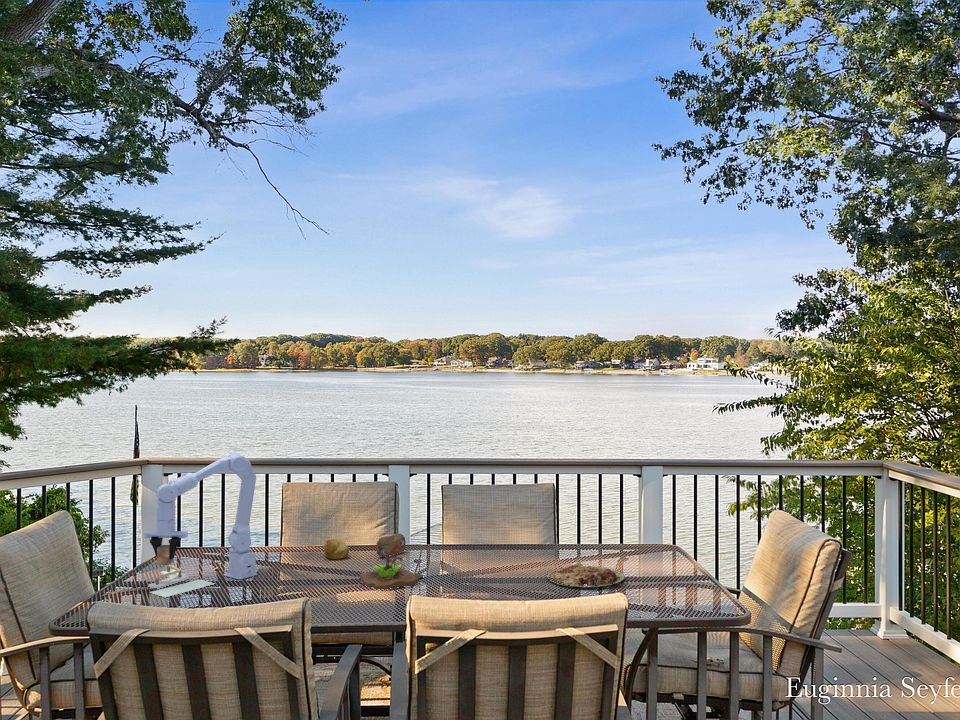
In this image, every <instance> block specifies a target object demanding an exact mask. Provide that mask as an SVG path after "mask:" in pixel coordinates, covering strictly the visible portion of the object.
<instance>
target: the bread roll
mask: <svg viewBox="0 0 960 720" xmlns="http://www.w3.org/2000/svg"><path fill="white" fill-rule="evenodd" d="M323 546H324V550H323V551H324V556H325V557H326V559H329V560H331V559H337V560H342V559H341V558H343V559H345V558H346V557H348V554H349V551H350V550H349V547H348V545H347V543H346V542H344V541H343V540H341V539H338V538H334V539H328V540H326V541H325V542H324V544H323Z"/></svg>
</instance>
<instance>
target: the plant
mask: <svg viewBox="0 0 960 720" xmlns="http://www.w3.org/2000/svg"><path fill="white" fill-rule="evenodd" d="M383 554H384V555H386V558H385V559H386V561H385V563H384V565H383V564H381V563H380V564H379V566H377V565H373V567H374V568H375V570H372V571H366V572H362V573H360V575H359V580H360V579H361V581H362V582H363V584H362V586H363V585H366V586H367V587H374V588H375V589H390V588H397V587H404V586H411V585H415V584H416V583H418V582H419V580H420V578H419V577H417V574H415V573H412V572H411V571H408V570H407V569H403V568H401V567H402V564H397V565H396V566H394V565H395V564H394V563H395V561H397V560H399V562H401V563H403V562H404V558H403V557H401V556H398V557H395V558H393V560H392V558H390V557H389V556H388V552H387V551H386V550H384V551H383ZM361 581H360V582H361ZM418 584H419V583H418ZM416 585H417V584H416ZM416 585H415V586H416Z"/></svg>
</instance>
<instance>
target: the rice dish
mask: <svg viewBox="0 0 960 720" xmlns="http://www.w3.org/2000/svg"><path fill="white" fill-rule="evenodd" d="M558 570H560V571H558ZM555 571H557V572H555ZM553 572H554V573H553ZM551 573H552V574H551ZM550 574H551V577H552V578H553V579H557V580H558V581H561V582H563V583H564V584H565V585H563V584H559V583H556V582H554V581H552V580H549V582H552V583H554V584H557V585H560V586H565V587H566V586H567V587H577V588H583V589H593V588H600V587H607V586H611V585H614V584H618V583H621V582H622V581H623V580H624V579H625V577H626V576H625V574H624V573H623V571H619V570H615V569H613V568H609V567H604V566H602V567H601V566H593V565H587V566H586V565H585V566H584V565H583V564H582V563H581V562H577V563H575V564H574V565H573V564H571V565H570V566H569V565H568V567H561V568H557V569H553V570H551V571H549V572H548V573H547V574H546V578H548V579H549V575H550ZM548 579H547V580H548ZM614 581H616V582H614ZM612 583H613V584H612ZM584 584H587V585H589V586H591V587H587V586H586V587H584V586H583V585H584ZM568 585H570V586H568Z"/></svg>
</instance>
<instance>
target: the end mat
mask: <svg viewBox="0 0 960 720" xmlns="http://www.w3.org/2000/svg"><path fill="white" fill-rule="evenodd" d="M214 584H216V583H215V582H211V581H206V580H203V579H196V580H192V581H188V582H184V583H181V584H175V585H171V586H168V587H165V588H162V589H155V590H153V591H149V593H152V594H151V595H153V594H155V595H154V596H156V595H158V596H157V597H159V596H162V597H161V598H163V597H164V598H163V599H167V598H166V597H168V598H171V597H170V596H172V597H175V596H179V595H183V594H186V593H185V592H187V593H190V592H193V591H192V590H194V591H197V590H196V589H198V590H201V589H200V588H202V589H204V588H203V587H205V588H207V587H206V586H209V587H211V586H210V585H213V586H215V585H214ZM189 591H190V592H189ZM182 593H183V594H182ZM178 594H179V595H178ZM174 595H175V596H174Z"/></svg>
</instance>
